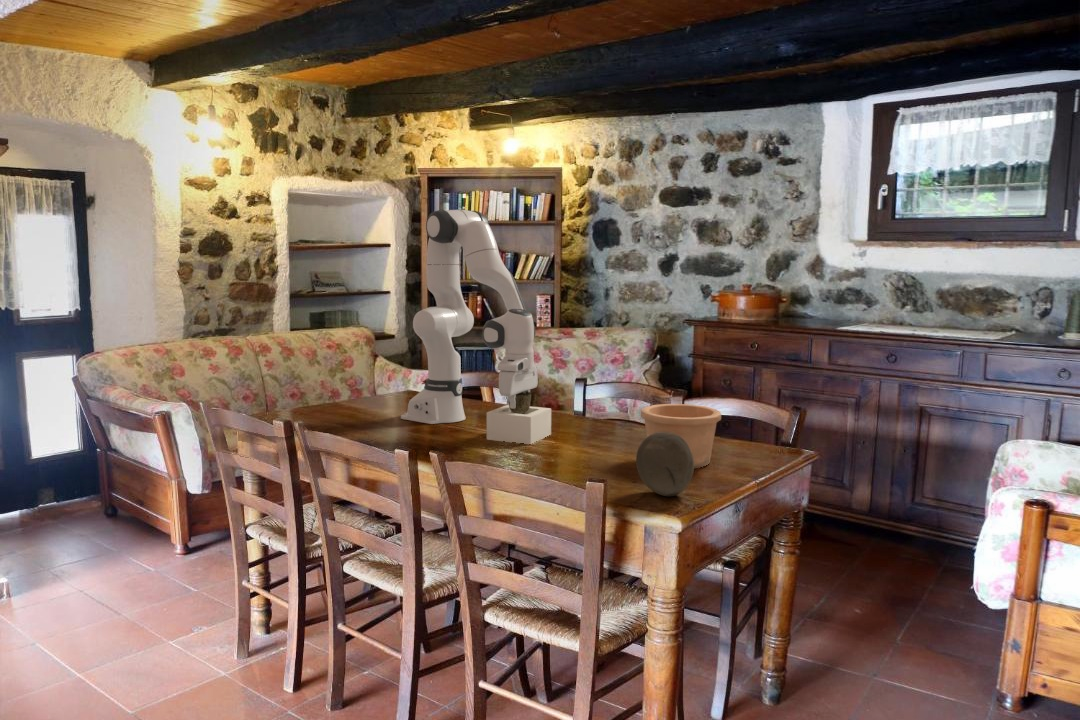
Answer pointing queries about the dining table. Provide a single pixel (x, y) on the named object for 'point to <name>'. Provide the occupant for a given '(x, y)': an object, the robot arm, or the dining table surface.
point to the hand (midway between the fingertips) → (519, 406)
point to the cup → (522, 403)
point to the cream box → (518, 425)
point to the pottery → (685, 426)
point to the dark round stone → (665, 463)
